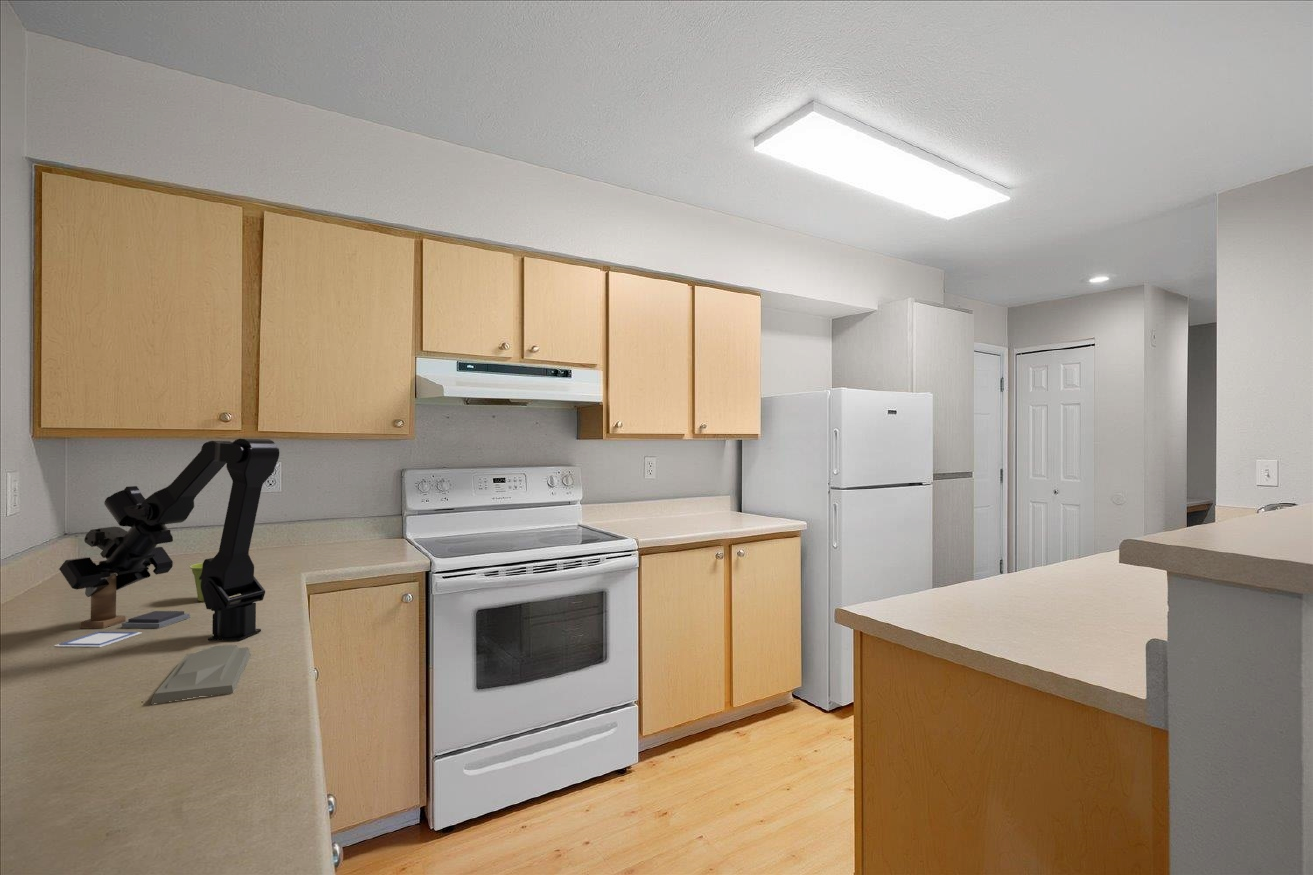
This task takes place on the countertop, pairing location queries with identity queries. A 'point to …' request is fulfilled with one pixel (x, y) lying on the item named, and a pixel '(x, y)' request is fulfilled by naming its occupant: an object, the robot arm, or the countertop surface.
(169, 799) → the countertop surface
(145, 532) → the robot arm
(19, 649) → the countertop surface
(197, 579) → the plant pot
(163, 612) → the ink pad
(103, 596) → the stamp
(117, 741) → the countertop surface
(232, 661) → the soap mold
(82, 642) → the print card
